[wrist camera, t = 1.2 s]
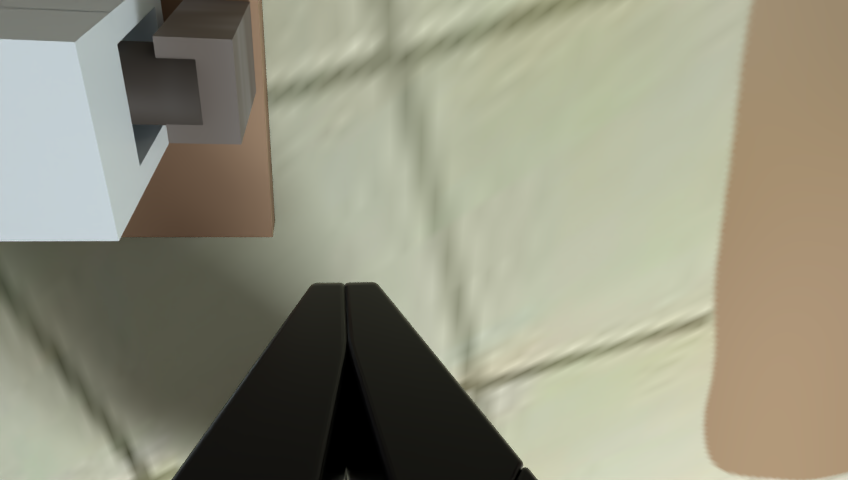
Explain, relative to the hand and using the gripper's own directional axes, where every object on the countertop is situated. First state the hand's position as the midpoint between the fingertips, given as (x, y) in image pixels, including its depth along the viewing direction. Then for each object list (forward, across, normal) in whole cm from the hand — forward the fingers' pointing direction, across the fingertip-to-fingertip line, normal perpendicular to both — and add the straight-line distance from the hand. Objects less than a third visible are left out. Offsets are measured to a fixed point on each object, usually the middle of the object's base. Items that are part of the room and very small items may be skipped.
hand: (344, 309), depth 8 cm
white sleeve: (+10, +6, 0) cm, 12 cm away
